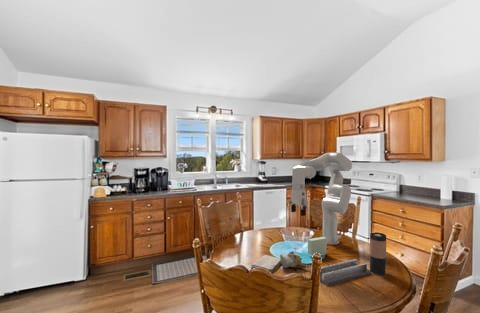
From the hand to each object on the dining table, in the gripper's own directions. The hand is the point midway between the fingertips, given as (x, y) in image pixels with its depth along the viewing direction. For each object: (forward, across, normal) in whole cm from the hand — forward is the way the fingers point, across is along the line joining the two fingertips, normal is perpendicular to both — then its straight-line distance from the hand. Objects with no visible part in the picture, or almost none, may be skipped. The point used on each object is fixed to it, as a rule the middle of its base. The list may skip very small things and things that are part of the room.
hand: (298, 213), depth 152 cm
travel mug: (+25, -36, -25) cm, 50 cm away
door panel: (+25, -6, -10) cm, 28 cm away
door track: (+25, -30, -5) cm, 40 cm away
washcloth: (+25, -7, +26) cm, 37 cm away
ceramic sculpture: (+25, -14, +14) cm, 32 cm away
